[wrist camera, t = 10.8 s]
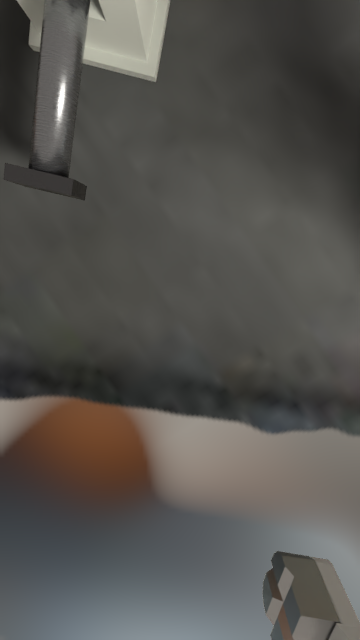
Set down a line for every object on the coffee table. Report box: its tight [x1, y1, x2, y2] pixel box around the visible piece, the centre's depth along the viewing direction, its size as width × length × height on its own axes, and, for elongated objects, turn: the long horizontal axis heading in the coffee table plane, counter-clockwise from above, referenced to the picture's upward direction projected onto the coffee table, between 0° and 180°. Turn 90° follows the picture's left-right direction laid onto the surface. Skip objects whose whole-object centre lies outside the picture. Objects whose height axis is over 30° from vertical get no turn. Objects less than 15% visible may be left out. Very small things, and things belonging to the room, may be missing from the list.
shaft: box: [4, 0, 90, 200], centre depth 24 cm, size 19×5×4 cm, turn 167°
